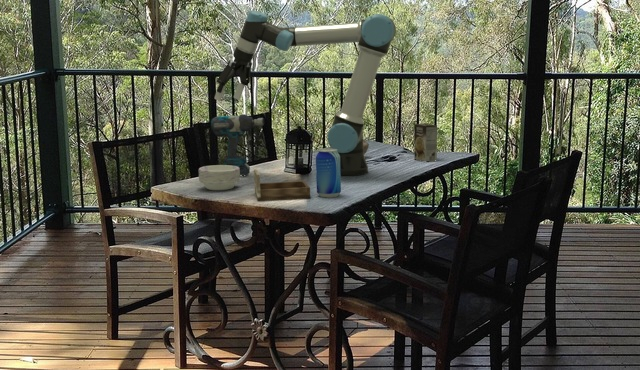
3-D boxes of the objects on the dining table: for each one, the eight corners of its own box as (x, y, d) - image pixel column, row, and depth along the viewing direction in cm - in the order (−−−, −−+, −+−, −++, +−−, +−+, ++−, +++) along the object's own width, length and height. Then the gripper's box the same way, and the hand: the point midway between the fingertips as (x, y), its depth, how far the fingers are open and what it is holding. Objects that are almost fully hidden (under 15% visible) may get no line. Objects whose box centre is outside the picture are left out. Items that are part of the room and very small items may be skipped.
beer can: (345, 194, 275) (344, 149, 272) (332, 198, 268) (331, 152, 265) (325, 192, 279) (324, 147, 276) (312, 196, 272) (310, 150, 269)
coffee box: (413, 160, 352) (413, 124, 349) (425, 158, 355) (425, 123, 352) (425, 162, 344) (425, 125, 341) (437, 161, 347) (437, 124, 344)
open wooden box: (304, 191, 283) (304, 166, 282) (310, 198, 269) (309, 172, 268) (254, 193, 281) (253, 168, 279) (257, 201, 267) (256, 174, 265)
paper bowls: (247, 188, 291) (246, 167, 290) (209, 193, 283) (208, 172, 282) (229, 183, 304) (228, 163, 302) (193, 188, 296) (191, 167, 294)
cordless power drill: (264, 177, 316) (261, 115, 312) (211, 176, 320) (207, 115, 316) (269, 174, 324) (267, 113, 319) (217, 173, 328) (214, 113, 324)
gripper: (254, 46, 318) (237, 94, 325) (219, 45, 297) (201, 96, 303) (269, 54, 316) (251, 102, 323) (234, 53, 294) (216, 104, 301)
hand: (227, 99), depth 313 cm, fingers open, 13 cm apart
